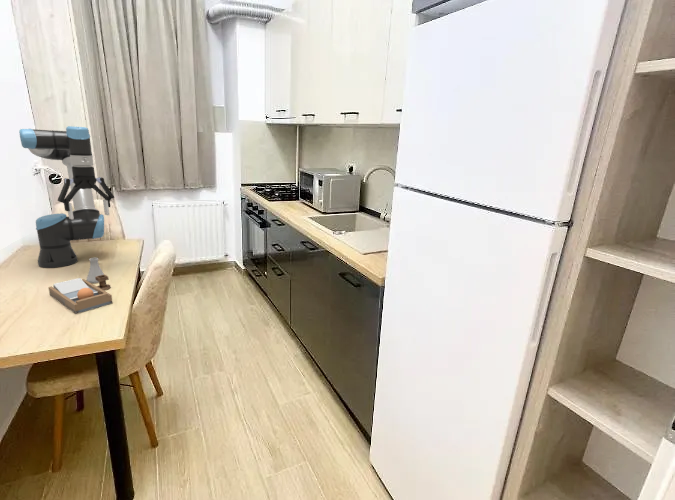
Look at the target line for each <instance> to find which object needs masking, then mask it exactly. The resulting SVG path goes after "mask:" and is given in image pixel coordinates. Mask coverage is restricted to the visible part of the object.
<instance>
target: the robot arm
mask: <svg viewBox="0 0 675 500" xmlns="http://www.w3.org/2000/svg"><path fill="white" fill-rule="evenodd" d="M19 138H20V143H21V147H22V148H23V149H28V151H29V152H30V153H32V154H33V155H34V156H37V157H39V158H42V159H46V160H51V161H61V163H62V165H63V166H66V169H67V175H68V178H67V177H65V178H64V179H63V186H62V188H61V190H60V192H59V195H58V197H57V202H58V203H62V204H63V206H64V208H63V209H64V211H66V212H67V214H68V216H67V214H66V213H62V212H61V213H52V214H47V215H43V216H40V217H38V218H36V220H35V227H36V228H35V230H36V232H37V238H38V244H39V252H38V253H39V254H38V259H37V264H38V265H37V266H39V267H41V268H43V269H44V268H45V269H48V268H53V269H55V268H62V267H67V266H71V265H74V264H76V263H77V262H78V255H77V254H76V252H75V250H74V249H73V247H72V245H71V241H72V242H73V241H81V240H94V239H100V238H103V237H104V235H105V216H110V208H111V200H112V199H114V198H115V196H114V194H113V192H112V191H111V190H110V188H109V186H107V184H106V182H105V179H104V177H100V176H99V177H96V176H95V175H96V173H95V168H94V159H93V158H94V156H93V153H92V145H91V134H90V131H89V128H88V127H86V126H72V125H71V126H70V125H67V126H66V128H65V130H54V129H53V130H52V129H51V130H49V129H47V130H45V129H32V128H22V129H21V128H20V129H19ZM96 183H99V185H100V187H101V188H102V189H103V190H104V191H103V190H102V189H100V188H99V187H98V186H97V185H96ZM69 189H70V191H69ZM92 189H93V190H94V191H96V193H97V194H98V195H100V196H101V197H102V198H103V200H102V202H103V210H104V214H102V213H100V210H99V209H97V208H96V205H95V200H94V194H93V190H92ZM68 191H69V193H68ZM67 193H68V194H67ZM71 201H72V203H73V206H72V203H71ZM73 208H74V209H73Z"/></svg>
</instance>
